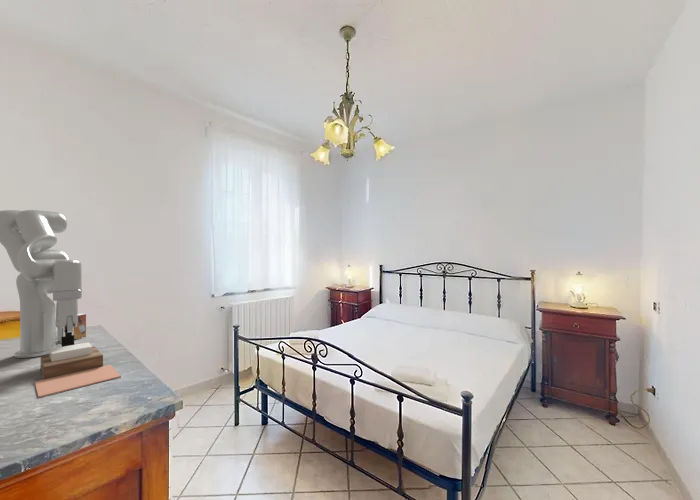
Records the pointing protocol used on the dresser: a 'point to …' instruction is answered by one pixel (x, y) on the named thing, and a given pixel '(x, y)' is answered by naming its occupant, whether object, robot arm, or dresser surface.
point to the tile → (70, 351)
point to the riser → (70, 364)
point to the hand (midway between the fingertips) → (67, 347)
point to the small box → (76, 328)
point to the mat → (75, 380)
